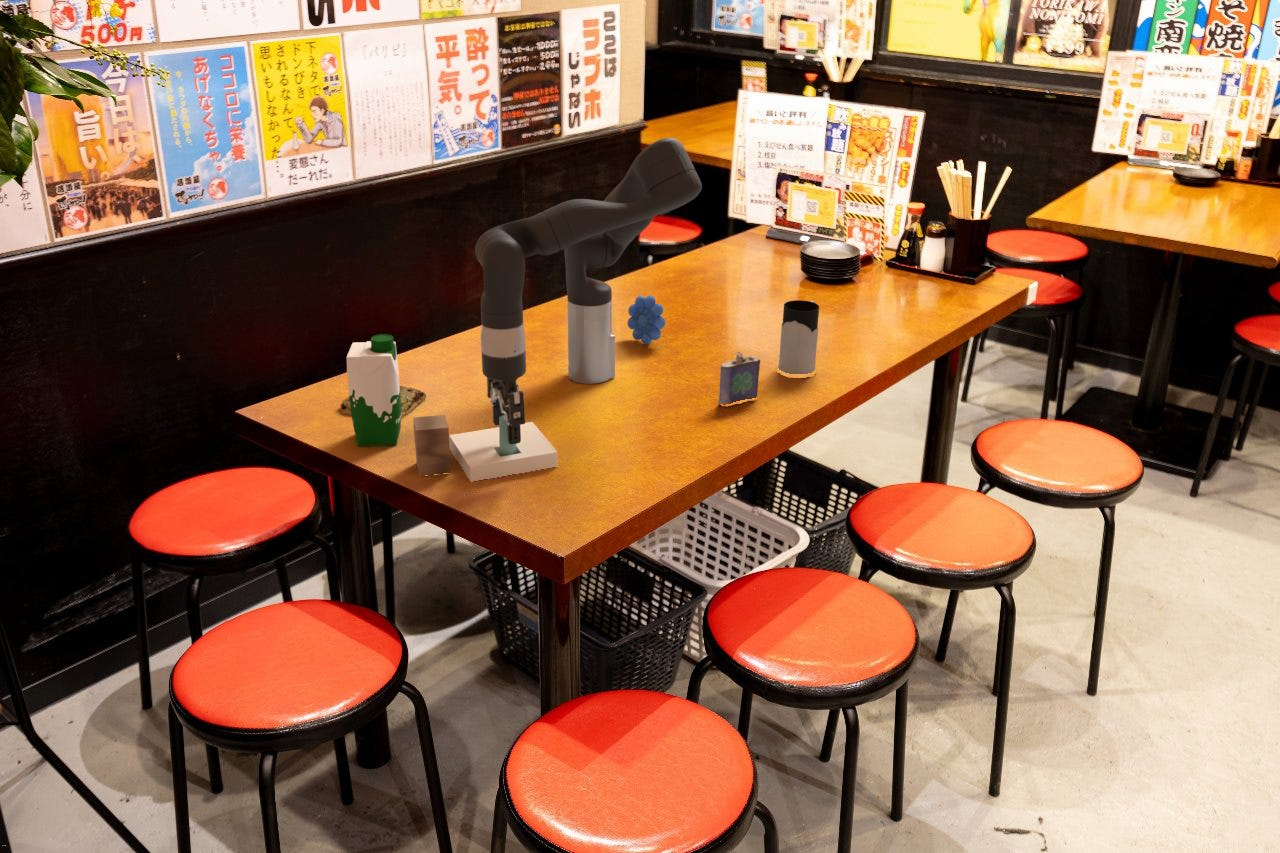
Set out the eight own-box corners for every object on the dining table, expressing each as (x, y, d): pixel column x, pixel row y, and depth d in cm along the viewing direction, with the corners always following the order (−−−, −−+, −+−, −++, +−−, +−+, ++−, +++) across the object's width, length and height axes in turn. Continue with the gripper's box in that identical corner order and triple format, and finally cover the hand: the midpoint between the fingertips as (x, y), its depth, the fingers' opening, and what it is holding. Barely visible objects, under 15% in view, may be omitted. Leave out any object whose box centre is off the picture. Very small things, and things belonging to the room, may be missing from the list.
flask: (722, 409, 226) (725, 359, 221) (714, 403, 228) (717, 354, 224) (760, 400, 230) (763, 351, 226) (751, 395, 232) (754, 346, 228)
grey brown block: (447, 460, 203) (445, 414, 199) (451, 473, 198) (448, 427, 195) (416, 463, 202) (413, 417, 198) (419, 477, 197) (415, 430, 193)
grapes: (676, 346, 258) (678, 296, 253) (656, 353, 253) (657, 302, 248) (641, 333, 265) (642, 284, 260) (620, 340, 261) (621, 290, 256)
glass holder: (770, 374, 243) (775, 308, 237) (791, 353, 255) (796, 290, 248) (809, 381, 240) (815, 314, 233) (829, 360, 251) (834, 295, 245)
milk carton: (400, 447, 208) (392, 346, 199) (351, 448, 207) (340, 347, 198) (405, 427, 215) (397, 329, 207) (358, 428, 215) (348, 330, 206)
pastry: (331, 398, 229) (330, 384, 228) (415, 385, 236) (414, 372, 234) (349, 431, 215) (348, 416, 214) (438, 416, 221) (437, 402, 220)
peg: (513, 459, 203) (513, 414, 199) (518, 466, 201) (518, 420, 197) (497, 461, 202) (497, 416, 198) (502, 468, 199) (502, 422, 196)
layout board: (532, 436, 213) (532, 421, 211) (557, 467, 201) (557, 452, 200) (450, 449, 207) (449, 435, 206) (470, 482, 195) (470, 467, 194)
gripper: (537, 358, 188) (539, 446, 194) (511, 331, 199) (514, 415, 206) (494, 365, 185) (498, 453, 192) (470, 337, 197) (475, 421, 203)
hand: (506, 433), depth 199 cm, fingers open, 8 cm apart
